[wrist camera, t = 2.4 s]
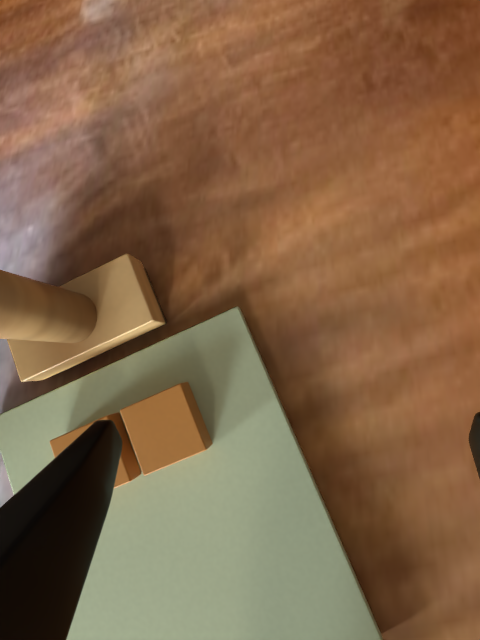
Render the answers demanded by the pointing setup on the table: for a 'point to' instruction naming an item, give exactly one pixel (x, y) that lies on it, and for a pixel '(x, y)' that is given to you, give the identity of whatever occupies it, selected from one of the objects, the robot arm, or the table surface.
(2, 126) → the table surface
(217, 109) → the table surface
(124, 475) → the block
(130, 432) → the block
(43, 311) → the rubber stamp
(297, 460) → the mat
